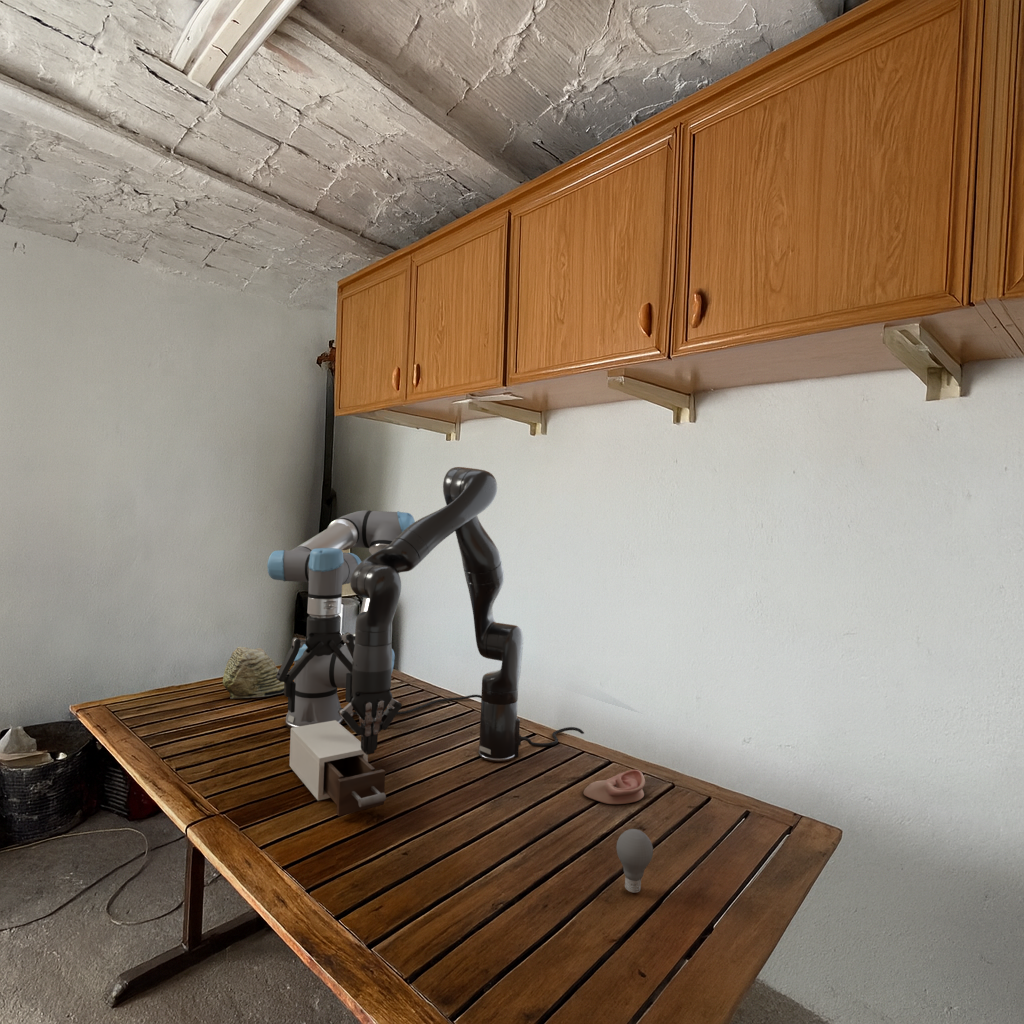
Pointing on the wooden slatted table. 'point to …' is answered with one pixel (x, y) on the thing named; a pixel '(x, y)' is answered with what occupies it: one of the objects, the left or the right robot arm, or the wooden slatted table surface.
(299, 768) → the cabinet
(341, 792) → the drawer
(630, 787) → the anatomical model
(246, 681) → the fossil
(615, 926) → the wooden slatted table surface
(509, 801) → the wooden slatted table surface
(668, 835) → the wooden slatted table surface
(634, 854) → the light bulb
